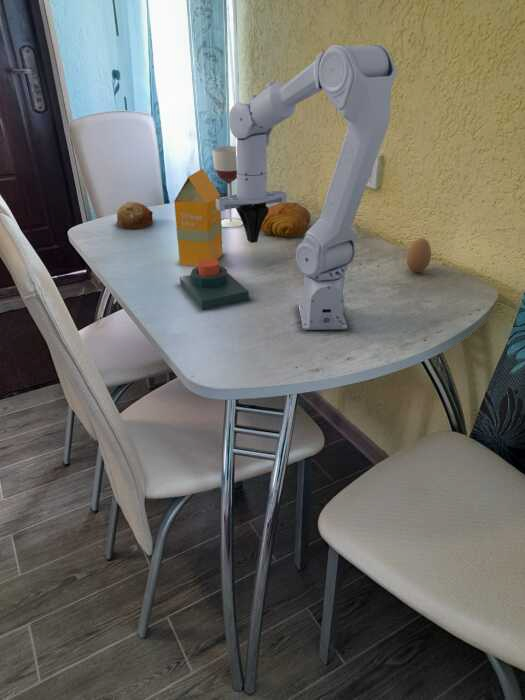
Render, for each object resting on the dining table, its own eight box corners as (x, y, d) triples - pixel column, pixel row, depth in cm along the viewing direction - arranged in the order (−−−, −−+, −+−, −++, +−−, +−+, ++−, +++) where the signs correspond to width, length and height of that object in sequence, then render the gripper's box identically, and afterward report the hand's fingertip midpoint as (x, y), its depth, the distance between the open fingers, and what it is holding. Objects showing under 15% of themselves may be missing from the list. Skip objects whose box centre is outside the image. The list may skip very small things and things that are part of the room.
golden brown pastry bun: (313, 230, 145) (316, 202, 142) (303, 240, 131) (306, 209, 128) (264, 225, 148) (266, 197, 145) (250, 234, 134) (252, 203, 131)
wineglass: (211, 226, 142) (207, 151, 131) (222, 217, 149) (219, 145, 138) (238, 229, 140) (236, 152, 129) (248, 219, 147) (247, 147, 136)
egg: (399, 270, 115) (404, 236, 110) (416, 266, 117) (422, 232, 113) (415, 278, 111) (421, 243, 107) (432, 274, 113) (439, 239, 109)
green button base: (248, 300, 101) (248, 282, 99) (202, 310, 97) (200, 291, 95) (223, 277, 111) (223, 260, 109) (180, 285, 107) (178, 268, 105)
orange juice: (223, 254, 123) (219, 169, 113) (210, 267, 116) (205, 177, 105) (193, 251, 125) (187, 167, 114) (178, 264, 118) (170, 175, 107)
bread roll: (122, 232, 148) (106, 209, 143) (151, 213, 149) (136, 190, 144) (129, 242, 141) (113, 218, 136) (160, 222, 142) (145, 198, 137)
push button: (223, 275, 103) (222, 264, 102) (202, 278, 101) (202, 268, 100) (215, 267, 106) (214, 257, 105) (195, 271, 105) (194, 260, 103)
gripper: (275, 165, 102) (274, 230, 109) (208, 171, 97) (212, 240, 104) (292, 172, 97) (290, 240, 104) (222, 179, 91) (225, 251, 98)
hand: (252, 241), depth 104 cm, fingers closed
